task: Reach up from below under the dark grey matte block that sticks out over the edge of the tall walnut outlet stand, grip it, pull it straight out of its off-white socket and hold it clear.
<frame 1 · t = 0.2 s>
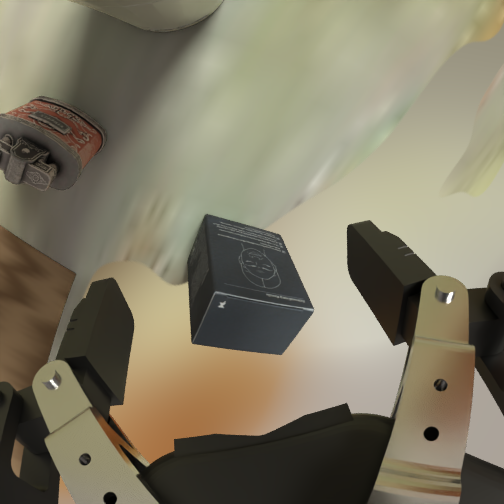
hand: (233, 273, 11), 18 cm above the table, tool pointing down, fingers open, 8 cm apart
box: (234, 246, 32), on the table
stand: (14, 280, 29), on the table
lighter: (66, 123, 22), on the table
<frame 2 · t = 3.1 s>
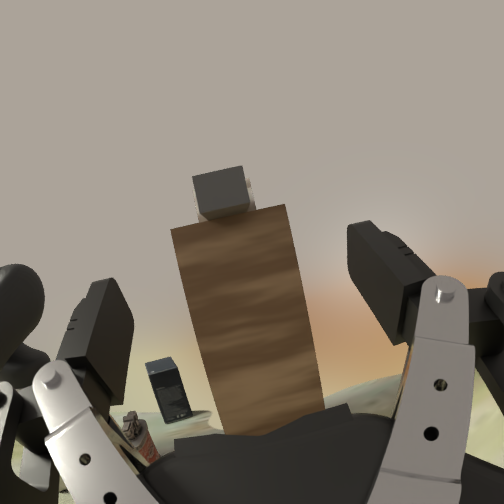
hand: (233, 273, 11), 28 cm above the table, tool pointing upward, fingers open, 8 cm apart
box: (176, 413, 56), on the table
stand: (281, 445, 40), on the table
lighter: (153, 473, 37), on the table
dark grey matte block: (227, 217, 34), point 32 cm above the table, touching stand
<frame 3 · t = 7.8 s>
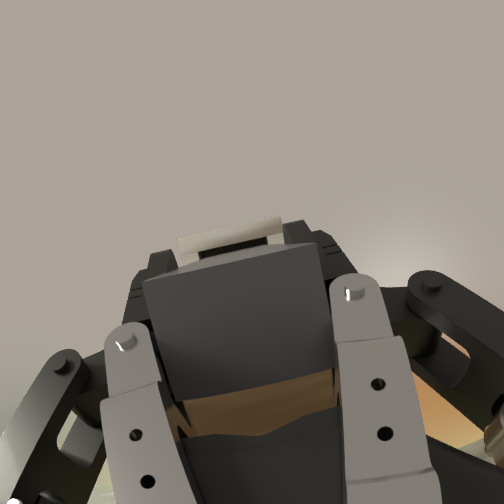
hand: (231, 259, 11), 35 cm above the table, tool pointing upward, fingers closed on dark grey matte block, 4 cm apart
dark grey matte block: (246, 310, 17), point 32 cm above the table, touching gripper, stand
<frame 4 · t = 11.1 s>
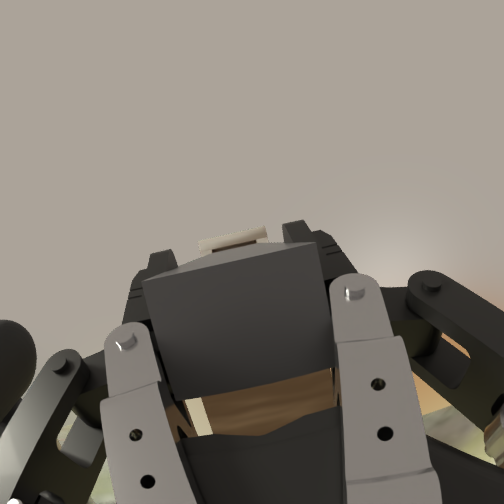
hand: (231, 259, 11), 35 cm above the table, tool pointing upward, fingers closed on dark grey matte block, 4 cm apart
stand: (295, 500, 34), on the table
dark grey matte block: (245, 308, 17), point 32 cm above the table, touching gripper
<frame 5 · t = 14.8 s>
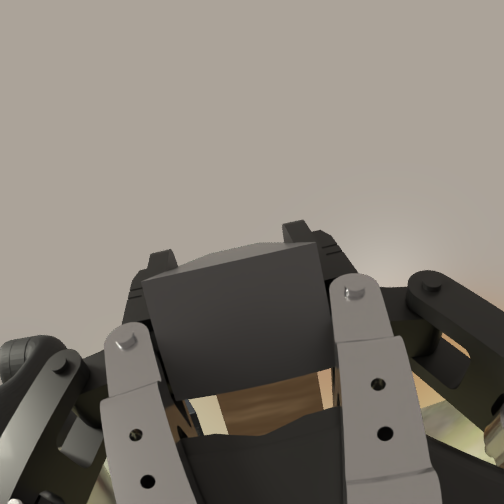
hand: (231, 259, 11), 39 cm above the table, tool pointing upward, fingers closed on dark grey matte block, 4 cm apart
box: (193, 449, 59), on the table
stand: (292, 484, 42), on the table
dark grey matte block: (245, 308, 17), point 36 cm above the table, touching gripper
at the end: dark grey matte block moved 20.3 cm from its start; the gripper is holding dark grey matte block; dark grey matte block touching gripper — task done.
